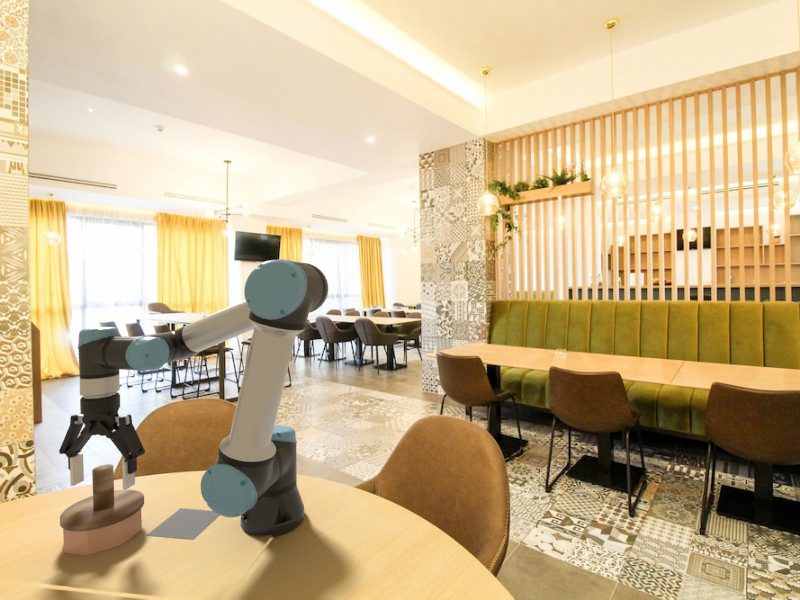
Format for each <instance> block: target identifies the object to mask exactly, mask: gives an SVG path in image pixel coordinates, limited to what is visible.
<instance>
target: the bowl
mask: <svg viewBox="0 0 800 600" xmlns="http://www.w3.org/2000/svg"><path fill="white" fill-rule="evenodd" d="M142 518H143V517H142V508H141V509H140V510H139V511H138V512H137V513H135V514H134V515H132V516H130V517H129V518H127V519H125V520H123V521H120V522H118V523H115V524H112V525H109V526H106V527H102V528H98V529H94V530H87V531H69V530H65V529H63V528H62V529H63V530H62V531H63V532H62V533H63V535H62V536H63V554H70V555H71V554H72V555H81V556H82V555H83V556H91V555H93V554H97V553H101V552H104V551H106V550H107V551H108V550H111V549H113V548H117V547H119V546H122V545H124V544H125V543H126V542H127V541H129V540H130V539H131V538H133V537H134V536H136V535H137V534H138V533H140V531H142V530H143V527H142V526H143V524H142V523H143V522H142V521H143V520H142Z"/></svg>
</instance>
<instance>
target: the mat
mask: <svg viewBox="0 0 800 600" xmlns="http://www.w3.org/2000/svg"><path fill="white" fill-rule="evenodd" d="M218 517H220V515H219V514H217V513H215V512H214V511H213V510H209V509H208V510H207V509H206V510H205V509H195V508H193V509H192V508H182V507H181V508H179V509H178V510H177V511H175V512H174V513H173V514H172V515H170V516H168V517H167V518H166V519H165V520H164V521H162V522H161V523H160V524H159V525H157V526H156V527H155V528H154V529H152V530H151V531H150V532H148V533H146V536H148V537H158V538H159V537H160V538H171V539H182V540H195V539H196V538H197V537H198V536H199V535H200V534H201V533H202V532H203V531H204V530H206V529H207V528H208V527H209V526H210V525H211V524H212V523H214V521H215V520H216V519H217V518H218Z"/></svg>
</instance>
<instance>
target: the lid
mask: <svg viewBox="0 0 800 600" xmlns="http://www.w3.org/2000/svg"><path fill="white" fill-rule="evenodd" d="M91 471H92V473H91V474H92V478H91V479H92V495H91V496H88V497H86V498H83V499H82V500H80V501H77V502H75V503H72V504H70V506H68V507H67V508H65V510H63V512H61V513H60V516H59V526H60V528H62V529H65V530H69V531H87V530H94V529H98V528H102V527H106V526H109V525H112V524H115V523H118V522H120V521H123V520H125V519H127V518H129V517H130V516H132V515H134V514H135V513H137V512H138V511H139V510H140V509H141V510H142V508H143V506H144V505H145V495H144V493H143V492H141V491H139V490H135V489H126V490H124V489H118V490H115V478H114V476H115V475H114V474H115V473H114V472H115V471H114V464H110V463H109V464H102V465H98V466H95V467H94V468H93V469H92V470H91Z"/></svg>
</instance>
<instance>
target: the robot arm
mask: <svg viewBox="0 0 800 600" xmlns="http://www.w3.org/2000/svg"><path fill="white" fill-rule="evenodd" d="M243 290H244V291H243V292H244V293H243V294H244V295H243V296H244V299H243V300H241V301H238V302H236V303H234V304H231V305H229V306H227V307H225V308H222V309H221V310H218V311H216V312H214V313H211V314H209V315H206V316H204V317H202V318H200V319H197V320H195V321H193V322H191V323H188V324H186V325H183V326H182V327H179V328H177V329H174V330H172V331H167V332H160V333H153V334H145V335H137V336H120V334H119V328H118V327H116V326H97V327H95V326H94V327H85V328H83V329H81V330H80V331H79V333H78V343H77V349H78V366H79V367H78V371H79V395H80V396H81V398H80V399H79V407H80V409H79V410H80V412H78V413H76V414H73V415H70V420H69V426H68V429H67V431H66V433H65V436H64V439H63V441H62V443H61V445H60V447H59V450H58V451H59V452H58V453H59V454H60V455H63V454H64V455H65V457H66V458H67V467H68V470H69V471H70V473H69V474H70V479H69V480H70V486H71V487H73V486H74V487H75V486H77V485H79V484H80V483H83V482H84V481H85V476H84V475H85V474H84V473H85V472H84V453H82V452H83V451H82V449H84V447H85V446H86V444H87V443H88V441H90V439H91V438H92V436H97V435H98V436H103V437H104V436H105V437H106V438H107V439H110V441H111V442H112V443H113V444H114V446H115V447H116V449H117V450H118V451H119V452H120V454H121V455H122V456H123V458H124V460H122V461H121V463H122V465H121V467H122V470H121V471H122V474H121V475H122V490H129V489H130V488H131V487H132V486H135V485H136V473H135V472H137V470H138V460H137V459H138V458H140V457H141V456H143V455H145V454H146V450H145V448H144V445H143V444H142V442H141V439H140V436H139V435H138V433H137V429H136V428H135V426H134V424H133V418H132V415H131V414H130V413H129V414H126V415H123V416H121V415H119V410H120V408H121V393H120V392H119V391H120V388H121V387H120V370H123V371H124V370H127V371H128V370H129V371H140V372H146V371H157V370H160V369H161V368H162V367H163V366H164V365H165V364H169V363H172V362H176V361H181V360H182V361H183V360H188V359H190V358H192V357H194V356H196V355H198V354H199V353H200V352H203V351H204V350H207V349H209V348H212V347H214V346H216V345H219V344H221V343H223V342H227V341H229V340H231V339H233V338H236V337H238V336H241V335H243V334H245V333H248V332H250V331H252V330H253V333H252V336H251V341H250V346H249V349H248V353H247V354H248V355H247V357H246V358H247V359H246V362H245V363H246V364H245V366H244V367H245V368H244V370H243V371H244V372H243V375H242V379H241V385H240V389H239V394H238V396H237V402H236V407H235V411H234V415H233V418H232V424H231V428H230V432H229V435H227V436H225V437H223V439H222V440H221V441H220V443H219V447H218V450H217V456H216V460H215V463H214V464H212V465H211V466H210V467H208V468H207V470H206V471H204V473H203V475H202V476H201V481H200V493H201V497H202V498H203V500H204V502H205V503H206V504H207V506H208V508H209V509H210V511H214V512H215V513H217V514H219V516H221V517H224V518H238V517H240V527H241V529H242V530H243V532H245V533H247V534H248V535H253V536H258V537H268V536H270V538H271V537H277V536H282V535H284V534H286V533H289V532H291V531H293V530H294V529H296V528H297V527H298V526H299V525H301V523H303V521H304V518H305V504H304V503H303V499H302V496H301V494H300V491H299V488H298V486H297V485H298V483H297V482H298V480H297V477H298V476H297V443H298V441H297V436H296V435H297V434H296V430H295V429H294V428H292V427H290V426H288V425H287V426H286V425H277V424H276V421H277V417H278V412H279V408H280V405H281V404H280V403H281V400H282V396H283V392H284V387H285V383H286V379H287V376H288V375H287V374H288V371H289V367H290V362H291V359H292V358H291V357H292V354H293V350H294V349H293V348H294V344H295V341H296V337H297V336H298V335H300V334H302V333H304V332H305V329H306V326H307V322H308V318H309V314H310V313H314V312H315V311H317V310H318V309H319V308H321V307H322V306H323V305H324V304H325V302H326V300H327V298H328V295H329V283H328V279H327V278H326V275H325V274H324V272H323V271H322V270H321V269H320V268H319V267H317V266H315V265H313V264H311V263H307V262H299V261H294V260H289V259H283V258H281V259H271V260H266V261H264V262H262V263H260V264H259V265H257V266H256V267H254V268H253V269H252V271H250V273H249V275H248V277H247V278H246V281H245V284H244V289H243ZM83 426H84V427H83Z"/></svg>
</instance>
